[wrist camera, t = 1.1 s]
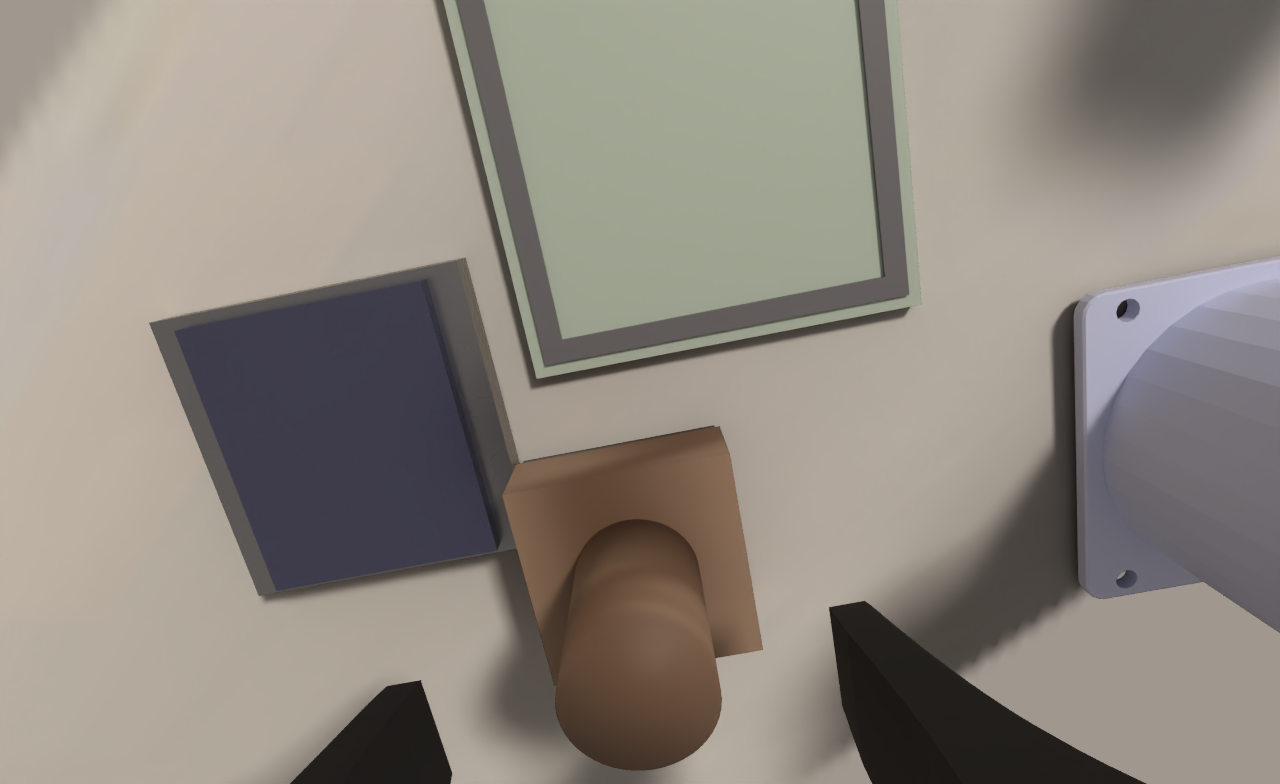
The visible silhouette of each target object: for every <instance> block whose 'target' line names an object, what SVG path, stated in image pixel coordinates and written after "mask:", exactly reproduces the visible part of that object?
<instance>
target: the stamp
mask: <svg viewBox="0 0 1280 784" xmlns="http://www.w3.org/2000/svg"><path fill="white" fill-rule="evenodd" d="M502 497H503V500H504V504H505V507H506V511H507V515H508V518H509V522H510V526H511V529H512V533H513V537H514V540H515V544H516V547H517V551H518V555H519V558H520V562H521V566H522V569H523V573H524V577H525V580H526V584H527V587H528V591H529V595H530V598H531V602H532V606H533V609H534V613H535V617H536V620H537V624H538V627H539V631H540V635H541V638H542V642H543V646H544V649H545V653H546V657H547V660H548V664H549V667H550V671H551V675H552V678H553V682H554V686H555V685H557V689H556V697H555V706H556V713H557V717H558V720H559V723H560V726H561V728H562V729H563V731H564V733H565V735H566V736H567V737H568V739H569V740H570V741H571V742H572V744H573V745H574V746H575V747H576V748H577V749H579V750H580V751H581V752H582V753H584V754H585V755H587V756H588V757H590V758H592V759H593V760H595V761H597V762H600V763H602V764H604V765H607V766H611V767H614V768H619V769H625V770H651V769H657V768H662V767H665V766H668V765H671V764H674V763H676V762H679V761H681V760H683V759H685V758H686V757H688V756H689V755H691V754H692V753H694V752H695V751H696V750H698V749H699V748H700V747H701V746H702V745H703V744H704V743H705V742H706V741H707V739H708V738H709V737H710V735H711V734H712V732H713V730H714V729H715V727H716V725H717V722H718V719H719V716H720V711H721V703H722V697H721V689H720V683H719V677H718V672H717V666H716V660H715V658H718V657H724V656H730V655H736V654H742V653H748V652H753V651H759V650H763V647H762V641H761V635H760V629H759V623H758V617H757V612H756V606H755V600H754V594H753V588H752V582H751V576H750V570H749V564H748V559H747V553H746V547H745V541H744V535H743V529H742V523H741V517H740V512H739V506H738V500H737V494H736V488H735V482H734V476H733V470H732V465H731V459H730V453H729V451H728V448H727V445H726V443H725V440H724V437H723V435H722V432H721V429H720V427H719V426H718V427H714V426H708V427H703V428H698V429H692V430H687V431H682V432H676V433H671V434H666V435H660V436H655V437H650V438H644V439H639V440H634V441H628V442H623V443H618V444H613V445H607V446H602V447H597V448H591V449H586V450H581V451H575V452H570V453H565V454H559V455H554V456H549V457H543V458H538V459H533V460H527V461H524V462H523V463H521V464H516V466H515V468H514V471H513V473H512V475H511V477H510V479H509V482H508V484H507V486H506V488H505V491H504V493H503V495H502Z"/></svg>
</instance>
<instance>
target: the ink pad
mask: <svg viewBox="0 0 1280 784" xmlns="http://www.w3.org/2000/svg"><path fill="white" fill-rule="evenodd" d="M149 324H150V326H151V329H152V331H153V334H154V336H155V339H156V341H157V344H158V346H159V348H160V351H161V353H162V356H163V358H164V361H165V363H166V366H167V368H168V371H169V373H170V376H171V378H172V381H173V383H174V386H175V388H176V391H177V393H178V396H179V398H180V401H181V403H182V406H183V408H184V411H185V413H186V416H187V418H188V421H189V423H190V426H191V428H192V431H193V433H194V436H195V438H196V441H197V443H198V445H199V448H200V450H201V453H202V455H203V458H204V460H205V463H206V465H207V468H208V470H209V473H210V475H211V478H212V480H213V483H214V485H215V488H216V490H217V493H218V495H219V498H220V500H221V503H222V505H223V508H224V510H225V513H226V515H227V518H228V520H229V523H230V525H231V528H232V530H233V533H234V535H235V537H236V540H237V542H238V545H239V547H240V550H241V552H242V555H243V557H244V560H245V562H246V565H247V567H248V570H249V572H250V575H251V577H252V580H253V582H254V585H255V587H256V590H257V592H258V595H259V596H261V595H267V594H272V593H278V592H283V591H289V590H294V589H300V588H305V587H311V586H316V585H322V584H327V583H333V582H338V581H343V580H349V579H354V578H360V577H365V576H371V575H376V574H382V573H387V572H393V571H398V570H404V569H409V568H415V567H420V566H426V565H431V564H437V563H442V562H448V561H453V560H459V559H464V558H470V557H475V556H481V555H486V554H491V553H497V552H502V551H508V550H513V549H517V547H516V544H515V540H514V537H513V533H512V529H511V526H510V522H509V518H508V515H507V511H506V507H505V504H504V500H503V497H502V495H503V493H504V491H505V488H506V486H507V484H508V482H509V479H510V477H511V475H512V473H513V471H514V468H515V466H516V464H520V463H519V459H518V455H517V452H516V448H515V444H514V440H513V436H512V433H511V429H510V425H509V421H508V417H507V414H506V410H505V406H504V402H503V398H502V395H501V391H500V387H499V383H498V379H497V376H496V372H495V368H494V364H493V360H492V357H491V353H490V349H489V345H488V341H487V338H486V334H485V330H484V326H483V323H482V319H481V315H480V311H479V307H478V304H477V300H476V296H475V292H474V288H473V285H472V281H471V277H470V273H469V269H468V266H467V262H466V258H462V259H457V260H452V261H447V262H442V263H437V264H432V265H427V266H422V267H417V268H413V269H408V270H403V271H398V272H393V273H388V274H383V275H378V276H373V277H368V278H363V279H358V280H353V281H348V282H343V283H338V284H334V285H329V286H324V287H319V288H314V289H309V290H304V291H299V292H294V293H289V294H284V295H279V296H274V297H269V298H264V299H259V300H254V301H250V302H245V303H240V304H235V305H230V306H225V307H220V308H215V309H210V310H205V311H200V312H195V313H190V314H185V315H180V316H175V317H171V318H167V319H163V320H159V321H155V322H151V323H149Z"/></svg>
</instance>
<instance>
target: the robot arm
mask: <svg viewBox="0 0 1280 784" xmlns="http://www.w3.org/2000/svg"><path fill="white" fill-rule="evenodd" d="M1124 300H1126V301H1127V305H1128V306H1127V310H1126V312H1125V313H1124V315H1123V316H1122V317H1120V318H1117V314H1116V311H1117V307H1118V306H1119V305H1120V303H1121V302H1122V301H1124ZM1074 361H1075V417H1076V473H1077V529H1078V579H1079V583H1080V585H1081V587H1082V588H1083V589H1084V590H1085V591H1087V592H1088V593H1089V594H1090V595H1091V596H1093V597H1096V598H1098V599H1101V598H1102V599H1105V598H1112V597H1117V596H1123V595H1129V594H1135V593H1140V592H1146V591H1152V590H1158V589H1164V588H1170V587H1176V586H1181V585H1187V584H1193V583H1198V582H1205V583H1206V584H1208V585H1209V586H1211V587H1212V588H1214V589H1215V590H1217V591H1218V592H1220V593H1221V594H1223V595H1224V596H1226V597H1227V598H1229V599H1230V600H1232V601H1233V602H1235V603H1236V604H1237V605H1239V606H1240V607H1242V608H1244V609H1245V610H1247V611H1248V612H1250V613H1251V614H1252V615H1254V616H1255V617H1257V618H1258V619H1260V620H1261V621H1263V622H1264V623H1266V624H1267V625H1269V626H1270V627H1272V628H1273V629H1275V630H1276V631H1278V632H1279V633H1280V256H1275V257H1270V258H1265V259H1259V260H1254V261H1249V262H1244V263H1239V264H1233V265H1228V266H1223V267H1218V268H1213V269H1207V270H1202V271H1197V272H1192V273H1187V274H1181V275H1176V276H1171V277H1166V278H1161V279H1155V280H1150V281H1145V282H1140V283H1135V284H1129V285H1124V286H1119V287H1114V288H1109V289H1103V290H1098V291H1094V292H1092V293H1089V294H1087V295H1085V296H1084V297H1083V298H1082V299H1081V300H1080V301H1079V303H1078V304H1077V306H1076V308H1075V312H1074ZM1123 571H1126V573H1125V575H1124V576H1123V577H1122V578H1120V579H1117V577H1118V575H1119V574H1120V573H1121V572H1123ZM829 611H830V618H831V625H832V633H833V640H834V647H835V655H836V662H837V670H838V677H839V684H840V692H841V699H842V706H843V709H844V712H845V715H846V717H847V720H848V723H849V726H850V729H851V732H852V735H853V738H854V740H855V743H856V746H857V749H858V751H859V754H860V757H861V760H862V762H863V765H864V767H865V769H866V771H867V773H868V776H869V778H870V780H871V782H872V784H1146V783H1144V782H1141V781H1139V780H1137V779H1135V778H1133V777H1131V776H1129V775H1127V774H1125V773H1123V772H1121V771H1119V770H1117V769H1115V768H1113V767H1110V766H1108V765H1106V764H1104V763H1102V762H1100V761H1099V760H1096V759H1095V758H1093V757H1091V756H1089V755H1087V754H1085V753H1083V752H1081V751H1079V750H1077V749H1076V748H1074V747H1072V746H1070V745H1069V744H1067V743H1065V742H1063V741H1061V740H1060V739H1058V738H1056V737H1054V736H1053V735H1051V734H1049V733H1047V732H1045V731H1044V730H1042V729H1040V728H1038V727H1037V726H1035V725H1033V724H1031V723H1030V722H1028V721H1026V720H1025V719H1023V718H1022V717H1020V716H1018V715H1017V714H1015V713H1014V712H1012V711H1010V710H1009V709H1007V708H1006V707H1004V706H1002V705H1001V704H1000V703H998V702H997V701H995V700H994V699H992V698H991V697H989V696H988V695H986V694H985V693H983V692H982V691H980V690H979V689H978V688H976V687H975V686H973V685H972V684H970V683H969V682H968V681H966V680H965V679H963V678H962V677H961V676H959V675H958V674H957V673H955V672H954V671H953V670H951V669H950V668H949V667H947V666H946V665H945V664H943V663H942V662H941V661H939V660H938V659H936V658H935V657H934V656H932V655H931V654H930V653H929V652H927V651H926V650H925V649H923V648H922V647H921V646H920V645H918V644H917V643H916V642H915V641H913V640H912V639H911V638H910V637H908V636H907V635H906V634H905V633H903V632H902V631H901V630H900V629H899V628H897V627H896V626H895V625H894V624H893V623H891V622H890V621H889V620H888V619H887V618H885V617H884V616H883V615H882V614H881V613H879V612H878V611H877V610H876V609H875V608H873V607H872V606H871V605H870V604H868V603H867V602H865V601H862V602H856V603H851V604H845V605H840V606H834V607H829ZM451 777H452V771H451V768H450V765H449V762H448V760H447V757H446V754H445V751H444V748H443V745H442V742H441V739H440V736H439V733H438V730H437V727H436V724H435V721H434V718H433V715H432V712H431V709H430V707H429V704H428V701H427V698H426V695H425V692H424V689H423V686H422V683H421V680H420V681H414V682H408V683H403V684H397V685H392V686H387V687H386V688H385V689H384V690H382V691H381V692H380V693H379V694H378V695H377V696H376V697H375V698H374V699H373V700H372V701H371V702H370V703H369V704H368V705H367V706H366V707H365V708H364V709H363V710H362V711H361V712H360V713H359V714H358V715H357V716H356V717H355V718H354V719H353V720H352V721H351V722H350V723H349V724H348V725H347V726H346V727H345V728H344V729H343V730H342V731H341V732H340V733H339V734H338V735H337V737H336V738H335V739H334V740H333V741H332V742H331V743H330V744H329V745H328V746H327V747H326V748H325V749H324V750H323V751H322V752H321V753H320V754H319V755H318V756H317V757H316V758H315V759H314V760H313V761H312V762H311V763H310V764H309V765H308V766H307V767H306V768H305V769H304V770H303V771H302V772H301V773H300V774H299V775H298V776H297V777H296V778H295V779H294V780H293V781H292V782H291V783H290V784H450V783H451Z"/></svg>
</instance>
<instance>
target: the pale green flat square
mask: <svg viewBox="0 0 1280 784" xmlns="http://www.w3.org/2000/svg"><path fill="white" fill-rule="evenodd" d="M443 2H444V6H445V10H446V14H447V18H448V22H449V26H450V30H451V34H452V38H453V42H454V46H455V50H456V54H457V58H458V62H459V66H460V70H461V74H462V79H463V83H464V87H465V91H466V95H467V99H468V103H469V107H470V111H471V115H472V119H473V123H474V127H475V131H476V135H477V139H478V143H479V147H480V151H481V156H482V160H483V164H484V168H485V172H486V176H487V180H488V184H489V188H490V192H491V196H492V200H493V204H494V208H495V212H496V216H497V220H498V224H499V228H500V232H501V237H502V241H503V245H504V249H505V253H506V257H507V261H508V265H509V269H510V273H511V277H512V281H513V285H514V289H515V293H516V297H517V301H518V305H519V309H520V314H521V318H522V322H523V326H524V330H525V334H526V338H527V342H528V346H529V350H530V354H531V358H532V362H533V366H534V370H535V374H536V378H537V379H539V378H544V377H549V376H554V375H560V374H565V373H570V372H575V371H580V370H585V369H591V368H596V367H601V366H606V365H611V364H616V363H622V362H627V361H632V360H637V359H642V358H647V357H653V356H658V355H663V354H668V353H673V352H678V351H684V350H689V349H694V348H699V347H704V346H709V345H715V344H720V343H725V342H730V341H735V340H740V339H746V338H751V337H756V336H761V335H766V334H772V333H777V332H782V331H787V330H792V329H797V328H803V327H808V326H813V325H818V324H823V323H828V322H834V321H839V320H844V319H849V318H854V317H859V316H865V315H870V314H875V313H880V312H885V311H890V310H896V309H901V308H906V307H911V306H916V305H921V304H922V299H921V287H920V274H919V262H918V249H917V237H916V224H915V212H914V199H913V187H912V174H911V162H910V150H909V137H908V125H907V112H906V100H905V87H904V75H903V62H902V50H901V38H900V25H899V13H898V0H443Z"/></svg>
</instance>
